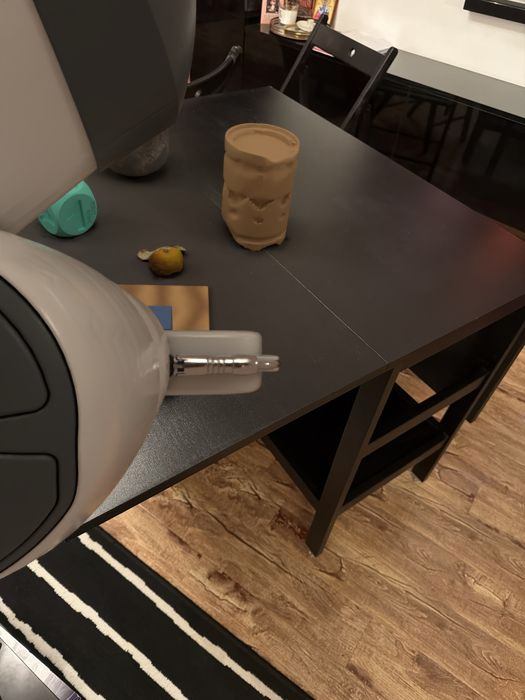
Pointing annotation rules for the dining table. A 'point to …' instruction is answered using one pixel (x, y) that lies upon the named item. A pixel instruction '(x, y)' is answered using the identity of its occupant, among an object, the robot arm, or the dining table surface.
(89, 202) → the decorative dice
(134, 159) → the cup
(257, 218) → the container
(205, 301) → the brown flat square board
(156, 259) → the fruit
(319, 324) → the dining table surface
